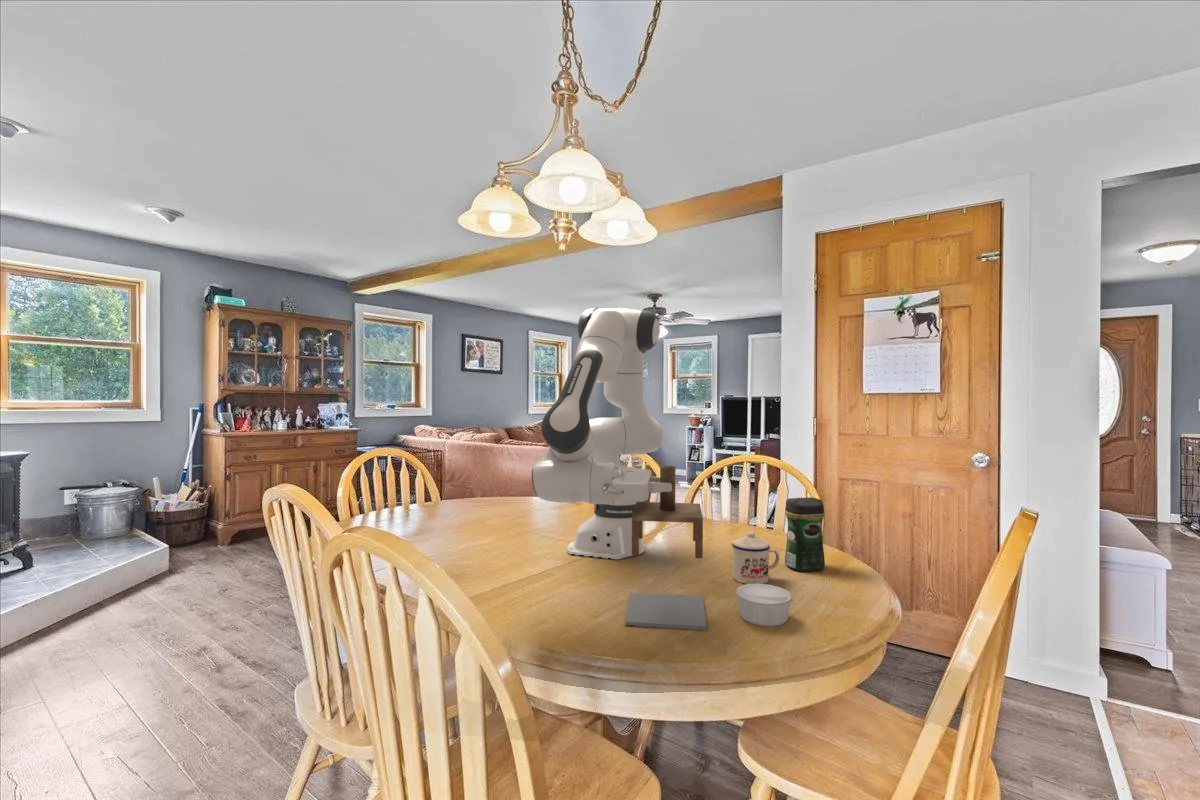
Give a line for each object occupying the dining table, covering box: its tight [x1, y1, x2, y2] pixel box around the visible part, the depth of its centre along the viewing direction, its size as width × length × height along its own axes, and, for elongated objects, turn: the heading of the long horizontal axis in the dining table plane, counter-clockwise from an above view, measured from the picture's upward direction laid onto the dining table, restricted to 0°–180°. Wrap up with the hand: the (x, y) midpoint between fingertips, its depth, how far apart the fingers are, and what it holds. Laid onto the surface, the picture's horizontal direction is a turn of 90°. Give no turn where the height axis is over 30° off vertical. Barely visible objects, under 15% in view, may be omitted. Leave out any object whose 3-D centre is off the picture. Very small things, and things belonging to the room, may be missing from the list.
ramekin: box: [735, 583, 793, 627], centre depth 115 cm, size 11×11×5 cm
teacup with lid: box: [731, 531, 781, 585], centre depth 139 cm, size 12×9×12 cm
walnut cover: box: [632, 465, 704, 559], centre depth 117 cm, size 14×14×17 cm
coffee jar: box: [784, 497, 826, 572], centre depth 148 cm, size 10×8×19 cm
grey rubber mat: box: [624, 592, 708, 631], centre depth 118 cm, size 16×16×1 cm
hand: (671, 485), depth 117 cm, fingers closed on walnut cover, 3 cm apart
